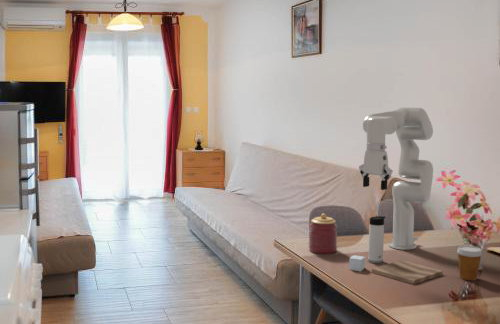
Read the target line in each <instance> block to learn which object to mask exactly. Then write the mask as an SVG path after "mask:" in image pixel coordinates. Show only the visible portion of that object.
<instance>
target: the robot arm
mask: <svg viewBox="0 0 500 324" xmlns="http://www.w3.org/2000/svg"><path fill="white" fill-rule="evenodd" d="M362 122H363V123H362V128H363V129H362V130H363V131H364V132H365V133H366V150H365V152H364V158H363V163H362V164H361V165H359V166H358V169H359V172H360V175H361V177H362V180H363V181H362V187H363V188H366V187H370V176H369V175H372V176H373V175H374V176H380V179H381V181H380V190H381V191H385V190H387V189H388V181H389V180H390V178H391V177H392V175H393V172H394V171H393V170H392V169H391V168H390V166H389V158H388V152H387V151H386V149H387V148H388V147H387V145H386V135H393V134H394V133H395V134H396V137H397V139H398V141H399V145H400V157H399V163H398V164H399V165H398V173H397V174H398V176H399V177H400V179H401V178H402V179H406V181H405V180H399V181H396V182H394V183H393V185H392V187H391V192H392V201H393V202H392V203H393V210H392V211H393V214H392V215H393V216H392V217H393V218H392V240H391V242H389V243H388V247H390V248H392V249H396V250H400V251H405V250H408V251H409V250H414V249H416V248H417V244H415V243H414V242H415V241H418V240H419V237H418V236H414V223H415V222H414V221H415V210H414V208H413V206H412V204H411V203H416V204H417V203H418V204H427V203H428V202H429V200H430V198H431V192H432V185H433V177H434V167H433V163H432V162H431V161H430V160H426V159H419V158H420V147H419V146H418V145H417V143H416V142H415V141H428V140H430V139H431V138H432V136H433V134H434V129H433V124H432V122H431V119H430V117H429V115H428V113H427V112H426V110H425V109H424V108H421V107H400V108H397V109H394V110H391V111H385V112H379V113H372V114H369V115H367V116H366V117H365V118H364V120H363V121H362ZM407 180H413V181H407ZM414 180H417V181H418V182H416V181H414ZM419 181H420V182H419Z"/></svg>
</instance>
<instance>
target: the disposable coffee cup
mask: <svg viewBox="0 0 500 324" xmlns="http://www.w3.org/2000/svg"><path fill="white" fill-rule="evenodd" d="M456 252H457V255H458V256H457V257H458V271H459V278H460V279H462V280H465V281H476V280H477V279H478V274H479V273H478V272H479V268H480V263H481V258H482V255H483V251H482V249H481V248H480V247H477V246H473V247H472V246H471V245H461V246H458V248H457V250H456Z"/></svg>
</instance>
